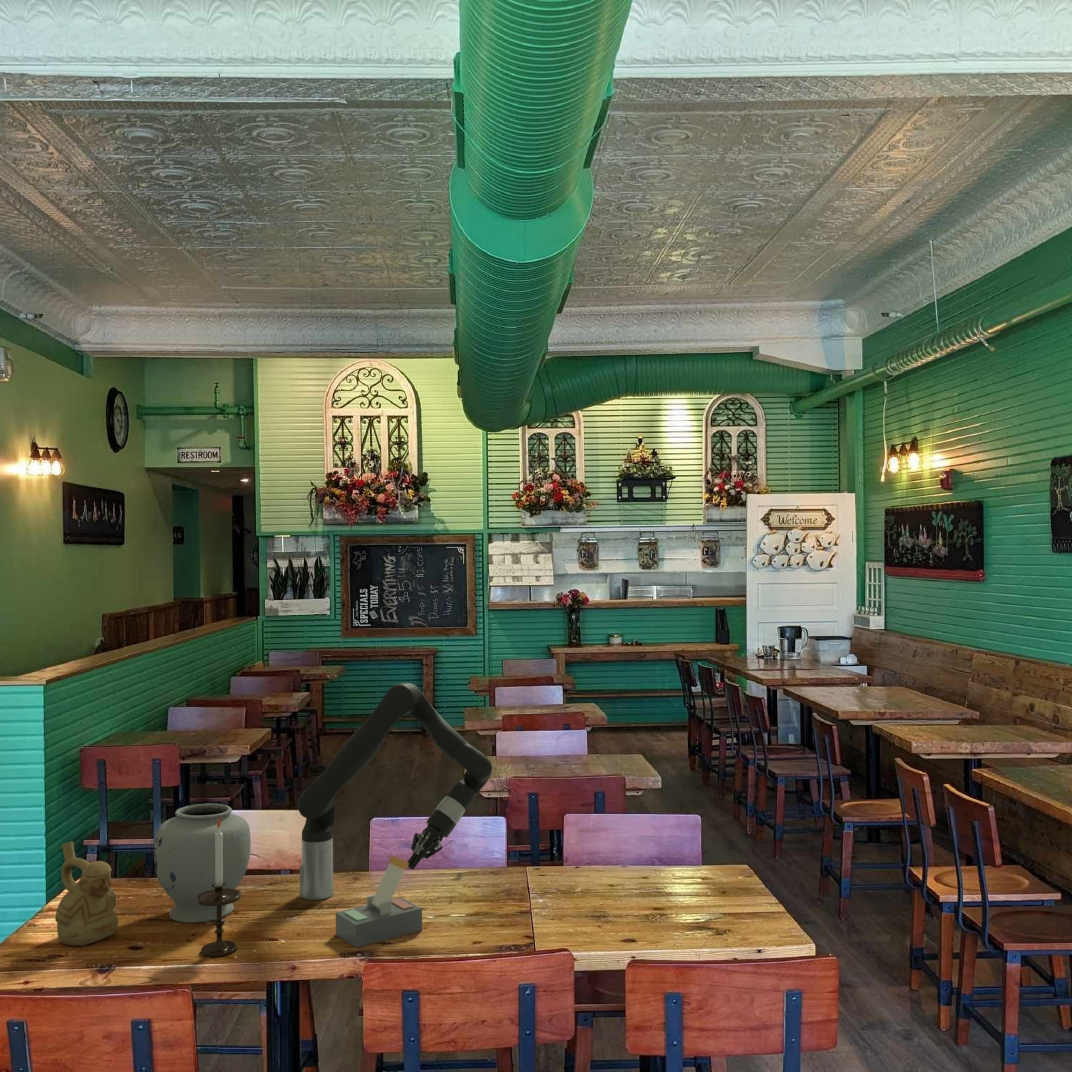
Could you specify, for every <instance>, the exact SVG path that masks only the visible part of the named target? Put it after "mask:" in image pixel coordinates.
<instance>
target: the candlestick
mask: <svg viewBox="0 0 1072 1072" xmlns="http://www.w3.org/2000/svg"><path fill="white" fill-rule="evenodd" d="M221 820H222V819H221V817H220V819H219V821H218V824H217V826H218V827H220V823H221ZM226 885H227V884H226V883H223V833H221V831H220V828H218V830H217V833H215V884H213V885H211V887H214V888H215V890H210V891H206V892H204V893H201V894H200V895H198V897H197V902H198V904H200V905H204V906H217V919H215V920H213V925H214V926H215V930H214V932H213V933H214V934H216V940H215V941H213V942H210V943H207V944H205V945H202V947H201V950H200V951H201V953H200V954H201V955H202V956H203V957H206V958H222V957H226V956H229V955H232V954H234V953H236V952H237V950H238V943H236V942H235V941H232V940H223V933H224V932H225V929H223V926H224V925H225V923H226V922H225V921H226V920H225V919H224V918H223V917H222V905H227V904H231V903H232V904H233V903H236V902H238V901H239V900H241V897H242V892H241V891H240V890H238V889H237V888H236V889H229V888H224V889H223V887H224V886H226Z"/></svg>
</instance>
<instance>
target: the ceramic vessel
mask: <svg viewBox="0 0 1072 1072" xmlns="http://www.w3.org/2000/svg"><path fill="white" fill-rule="evenodd" d="M61 849H62V851H63V857H64V862H63V864H62V865H61V871H60V873H61V882H62V884H63V887H64V888H65V889H66V890H67V892H66V893H65V895H63V897H62V898H61V900H59V903H58V906H57V908H56V911H55V912H56V913H55V918H54V919H55V922H56V924H57V925H56V928H57V929H56V930H57V937H58V940H59V942H60V943H61V944H64V945H67V946H80V947H84V946H87V945H89V944H93V943H96V942H98V941H101V940H103V939H105V938H108V937H110V936H112V935H113V934H115V931H116V930H117V929H118V926H119V918H118V916H117V914H116V913H115V912H114V909H115V907H116V905H117V903H116V902H117V900H116V894H115V891H114V889H113V888H112V887H111V886H112V882H113V880H112V877H111V875H112V873H111V872H112V867H111V866H110V864H109V863H107V862H106V861H102V860H96V861H92V862H90V861H88V860H86V859H84V858H81V857H76V852H75V847H74V841H70V842H66V843H62V844H61ZM73 867H74V868H78V869H79V870H80V871H81V874H80V875H81V876H80V878H79V880H78V881H77V882H76V881H75V879H74V877H73V876H72V875H73V874H72V870H73V869H72V868H73Z"/></svg>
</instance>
